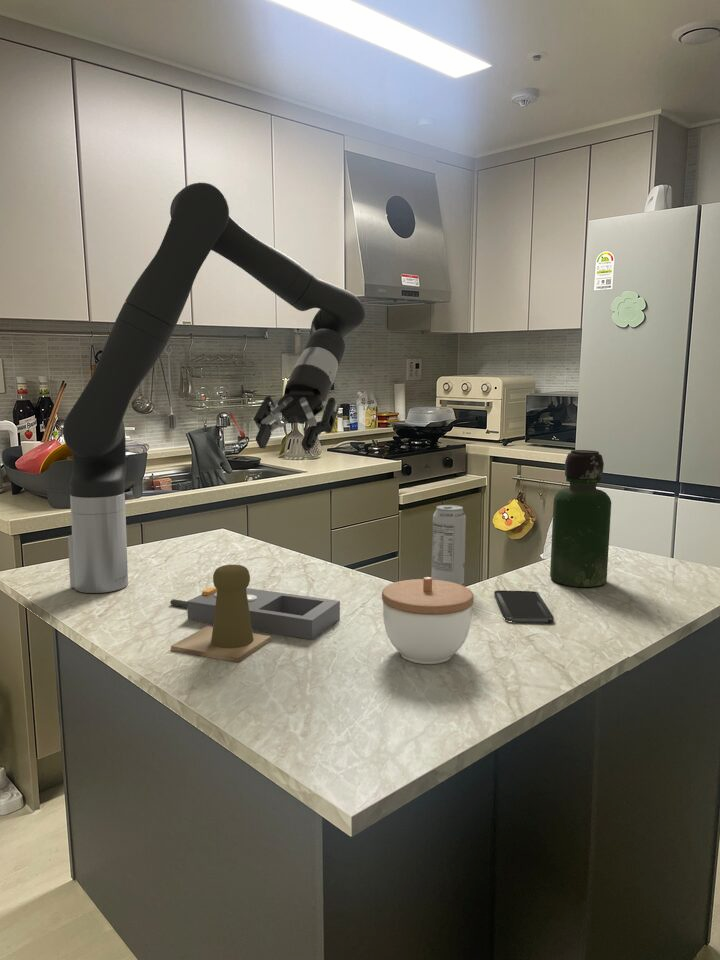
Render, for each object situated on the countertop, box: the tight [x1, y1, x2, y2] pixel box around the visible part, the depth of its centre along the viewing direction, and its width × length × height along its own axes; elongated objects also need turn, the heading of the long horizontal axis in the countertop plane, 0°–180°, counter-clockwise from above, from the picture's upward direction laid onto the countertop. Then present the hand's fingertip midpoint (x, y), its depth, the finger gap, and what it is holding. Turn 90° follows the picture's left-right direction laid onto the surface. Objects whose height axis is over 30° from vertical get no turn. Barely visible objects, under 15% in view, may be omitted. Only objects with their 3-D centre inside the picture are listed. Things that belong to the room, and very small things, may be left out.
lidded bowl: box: [381, 576, 475, 665], centre depth 99 cm, size 13×13×11 cm
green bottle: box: [549, 449, 612, 588], centre depth 135 cm, size 10×10×25 cm
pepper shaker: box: [211, 564, 254, 648], centre depth 101 cm, size 6×6×11 cm
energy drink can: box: [430, 504, 467, 586], centre depth 131 cm, size 6×6×15 cm
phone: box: [493, 589, 555, 625], centre depth 120 cm, size 8×1×15 cm
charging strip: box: [169, 587, 341, 641], centre depth 114 cm, size 29×10×4 cm, turn 68°
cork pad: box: [170, 625, 272, 663], centre depth 102 cm, size 11×9×1 cm
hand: (282, 446), depth 119 cm, fingers open, 8 cm apart
